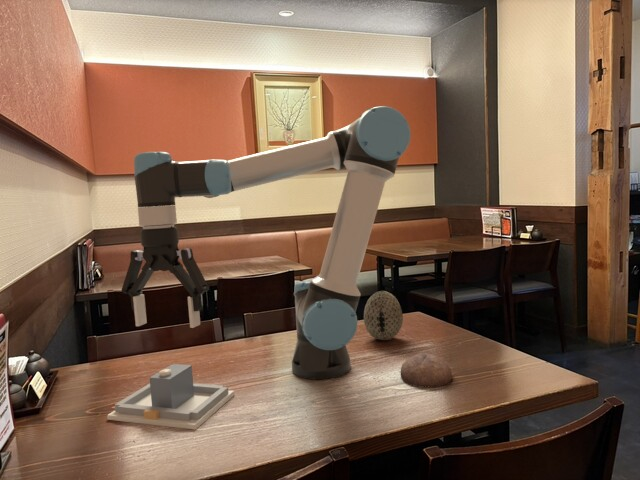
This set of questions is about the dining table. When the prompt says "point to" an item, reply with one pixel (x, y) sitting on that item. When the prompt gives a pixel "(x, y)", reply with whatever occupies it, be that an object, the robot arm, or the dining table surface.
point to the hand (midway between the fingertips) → (167, 325)
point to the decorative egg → (383, 316)
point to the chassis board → (184, 416)
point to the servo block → (172, 386)
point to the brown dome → (425, 371)
